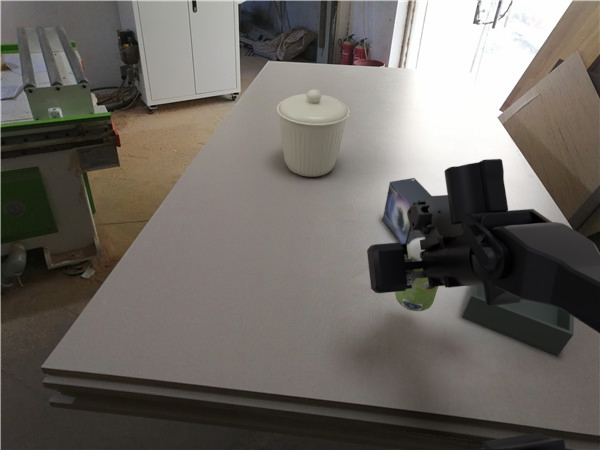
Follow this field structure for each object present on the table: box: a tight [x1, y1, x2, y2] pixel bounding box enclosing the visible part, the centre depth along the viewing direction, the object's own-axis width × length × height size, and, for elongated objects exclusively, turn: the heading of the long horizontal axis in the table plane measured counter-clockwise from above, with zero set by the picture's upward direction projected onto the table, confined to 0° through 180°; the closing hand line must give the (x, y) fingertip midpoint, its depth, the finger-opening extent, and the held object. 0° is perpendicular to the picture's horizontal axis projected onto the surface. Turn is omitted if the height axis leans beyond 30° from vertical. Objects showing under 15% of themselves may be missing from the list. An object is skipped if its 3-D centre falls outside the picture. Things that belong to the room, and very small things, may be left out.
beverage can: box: [394, 237, 439, 312], centre depth 61 cm, size 6×7×12 cm
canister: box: [276, 89, 351, 178], centre depth 103 cm, size 18×18×21 cm
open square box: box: [461, 286, 575, 357], centre depth 72 cm, size 17×15×6 cm
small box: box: [382, 177, 432, 245], centre depth 86 cm, size 11×6×10 cm, turn 17°
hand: (413, 265), depth 61 cm, fingers closed on beverage can, 6 cm apart
